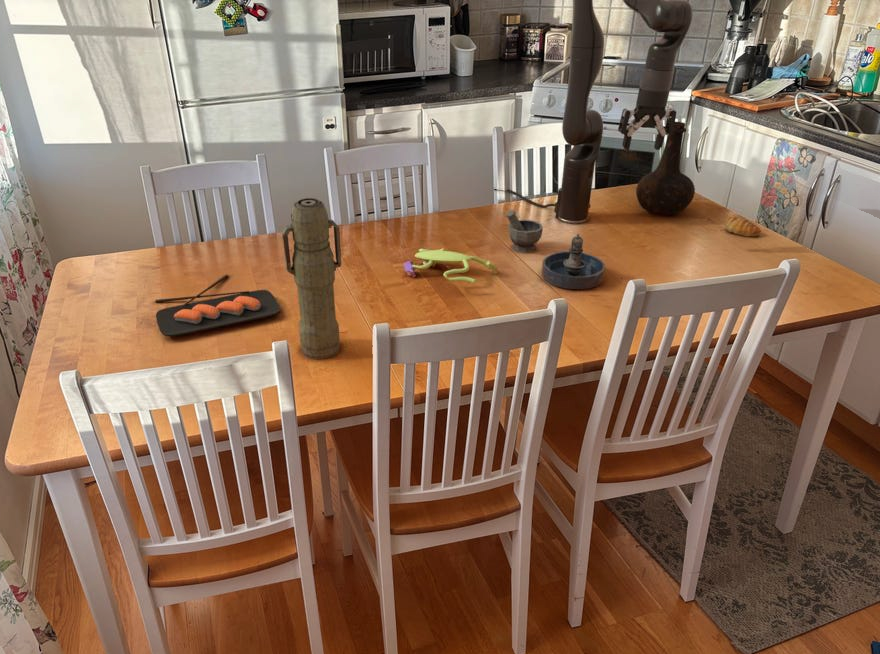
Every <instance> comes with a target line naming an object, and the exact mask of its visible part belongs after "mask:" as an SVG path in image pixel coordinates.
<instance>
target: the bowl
mask: <svg viewBox="0 0 880 654" xmlns="http://www.w3.org/2000/svg"><path fill="white" fill-rule="evenodd" d="M569 257H570V251H558V252H553V253H551V254H549V255H547V256H545V257H544V258H543V260H542V268H541V276H542V278H543V279H544V280H545V281H546V282H547V283H548V284H551V285H553V286H556V287H559V288H564V289H567V290H568V289H569V290H570V289H571V290H586V289H593V288H594V287H597V286H599V285H601V284H602V283H603V281H604V278H605V271H606V264H605V263H604V261H603V260H602V259H600V258H599V257H596V256H594V255H592V254H589V253H586V252H582V255H581V260H582V261H584V262H585V263H586V266H585V267H584V269H583V271H582V272H580V273H582V274H583V276H568V275H563V273H564V272H566V270H565V267H564V264H563V262H564V261H565V260H567V259H569Z"/></svg>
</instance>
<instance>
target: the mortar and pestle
mask: <svg viewBox="0 0 880 654" xmlns="http://www.w3.org/2000/svg"><path fill="white" fill-rule="evenodd" d="M505 217H506V218H507V219H508V222H509V223H508V234H509V239H510V241H511V242H512V243H513V246H512V247H513V250H514V251H516V252H519V253H530V252H531V253H532V252H533V251H535V249H536V248H535V245H536V244H537V243H538V242H539V241H540V240H541V238H542V236H543V231H544V230H543V228H544V227H543V224H542V223H540V222H538V221H536V220H530V219H519V218H518V216H517V215H516V211H515V210H514V209H511V210H508V211H507V212H506V213H505Z"/></svg>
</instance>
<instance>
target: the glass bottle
mask: <svg viewBox="0 0 880 654" xmlns="http://www.w3.org/2000/svg"><path fill="white" fill-rule="evenodd" d="M686 132H687V128H686V122H683V121H675V124H674V129H673V133H672V134H667V137H666V141H665V144H664V148H663V150H662V151H663V152H662V155H661V158H660V160H659V162H658V165H657V167H656V168H655V169H654V171H651V172H649V173H647V174H645V175H644V176H643V177H641V179H640V180H639V181H638V183H637V185H636V188H635V189H636V190H635V195H636V200H637V202H638V204H639V206H640V207H641V208H642V209H643V210H644V211H646V212H648V213H650V214H653V215H658V216H672V215H677V214H678V213H681V212H682V211H684V210H685V209H686V208H687V207H688V206H690V204H691V203H692V201H693V200H694V198H695V194H696V188H695V187H696V186H695V185H694V182H693V181H692V179H691V178H690V177H688V176H687V175H686V174H684V173H682V172H681V166H680V165H681V153H682V144H683V139H684V138H683V136H684V133H686Z"/></svg>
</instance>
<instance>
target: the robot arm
mask: <svg viewBox="0 0 880 654" xmlns="http://www.w3.org/2000/svg"><path fill="white" fill-rule="evenodd" d="M622 2H623V4H625V6H627V8H629V9H630V10H632V11H633V12H635V13H636V14H638V15H639V16H640V18H641V19H642V21H643V22H644V24H645V26H646V27H647V28H649V29H650V30H651V31H653V32H656V33H660V34H661V33H663V34H662V36H661V38H659V40H656V41H654V42H652V43H651V44H650V45H649V46H648V50H647V55H646V59H645V64H644V68H643V71H642V74H641V78H640V82H639V89H638V93H637V98H636V104H635V107H634V109H627V108H623V110H622V112H621V116H620V120H619V124H618V128H617V131H618V132H619V133H621V135H623V138H622V143H621V144H622V148H623V149H624V150H625V151H630V147H631V143H632V138H633V137H632V135H633V134H634V133H635V132H636V131H638V130H639V129H640V128H655V129H656V131H657V134H656V136H655V140H654V141H655V142H654V146H653V149H655V150H656V151H660V150H661V149H662V148H663V144H664V141H665V137H666V136H668V134H672V133H673V129H674V124H675V122H676V118H677V111H676V110H675V109H674V108H671V107H670V108H669V109H666V107H667V104H668V100H669V96H670V91H671V87H672V83H673V78H674V77H673V76H674V69H675V65H676V60H677V55H678V52H679V50H680V48H681V46H682V44H683V42H684V40H685V38H686V36H687V34H688V31H689V30H690V27H691V25H692V22H693V13H694V12H693V7H692V5H691V3H690V2H689V1H688V0H622ZM569 51H570V52H569V68H568V69H569V70H568V81H567V91H566V92H567V93H566V100H565V106H564V110H563V111H564V112H563V116H562V117H563V118H562V125H561V130H562V137H563V139H564V142H566V143H567V144H568V145H569V146H572V148H571V149H570V150H569V151H568V152H567V153H566V154H565V156H564V159H563V167H562V168H563V169H562V177H561V187H559V188H558V189H557V190H558V191H557V199H556V201H555V202H554V203H547V204H540V203H537V202H535V201H533V200H530V199H528V198H526V197H525V196H523V195H521V194H520V193H519V192H517V191H514V190H511V189H509V188H507V189H508V190H505V191H506V192H509V193H510V194H513V195H515V196H516V197H519V198H520V199H522V200H523V201H525V202H527V203H529V204H532V205H533V206H536V207H538V208H545V209H546V208H548V207H554V208H553V209H554V211H553V213H554V214H555V219H558V220H559V221H561V222H562V223H566V224H577V225H578V224H583V223H586V222H588V220H589V211H590V209H591V195H592V188H593V182H594V181H593V180H594V174H595V173H594V172H595V165H596V162H597V159H598V157H599V154H600V151H601V144H602V139H603V134H604V121H603V120H604V119H603V118H602V116H601V114H600V112H599V111H597V110H594V109H588V102H589V97H590V94H591V91H592V89H593V86H594V84H595V82H596V80H597V79H598V76H599V75H600V72H601V69H602V66H603V62H604V54H605V53H604V52H605V35H604V32H603V28H602V26H601V24H600V22H599V20H598V18H597V16H596V13H595V8H594V0H572V23H571V39H570V48H569ZM632 117H633V119H632ZM664 118H666V122H665V127H664V125H663V123H662V120H663V119H664ZM630 119H632V120H631V122H629V121H630ZM493 191H496V190H495V188H493Z"/></svg>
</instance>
